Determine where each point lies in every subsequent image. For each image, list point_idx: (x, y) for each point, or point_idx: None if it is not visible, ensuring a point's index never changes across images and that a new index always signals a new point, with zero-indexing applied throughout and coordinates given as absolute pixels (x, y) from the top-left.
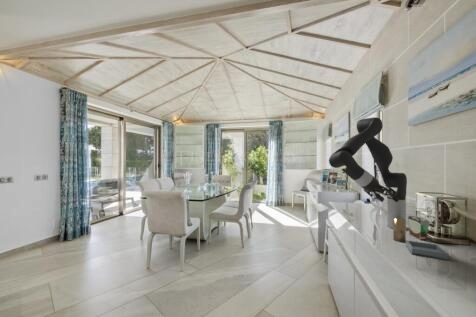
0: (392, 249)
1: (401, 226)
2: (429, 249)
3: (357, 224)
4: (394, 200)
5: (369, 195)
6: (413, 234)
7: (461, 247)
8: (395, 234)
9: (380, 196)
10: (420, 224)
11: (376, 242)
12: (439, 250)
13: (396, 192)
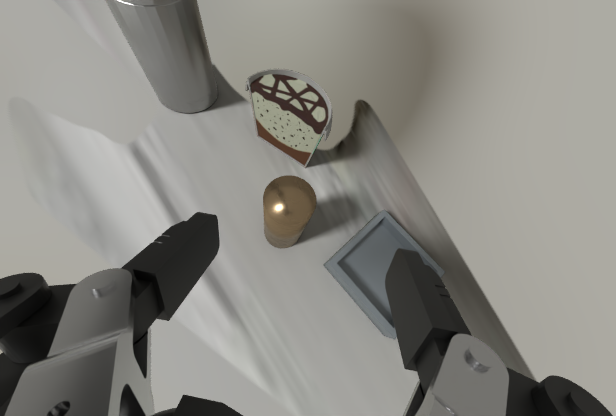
0: (335, 359)
1: (305, 225)
2: (376, 243)
3: (55, 176)
4: (396, 308)
5: (7, 367)
6: (276, 143)
7: (374, 138)
8: (281, 243)
9: (185, 258)
10: (318, 135)
11: (261, 346)
12: (400, 239)
13: (586, 395)
